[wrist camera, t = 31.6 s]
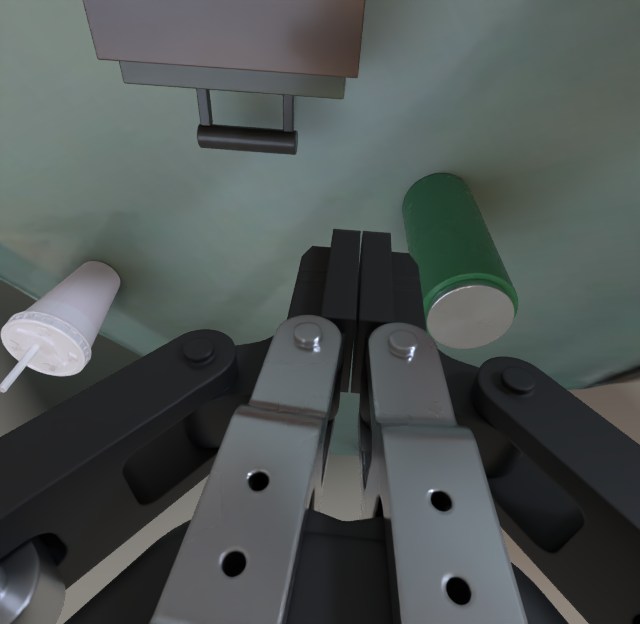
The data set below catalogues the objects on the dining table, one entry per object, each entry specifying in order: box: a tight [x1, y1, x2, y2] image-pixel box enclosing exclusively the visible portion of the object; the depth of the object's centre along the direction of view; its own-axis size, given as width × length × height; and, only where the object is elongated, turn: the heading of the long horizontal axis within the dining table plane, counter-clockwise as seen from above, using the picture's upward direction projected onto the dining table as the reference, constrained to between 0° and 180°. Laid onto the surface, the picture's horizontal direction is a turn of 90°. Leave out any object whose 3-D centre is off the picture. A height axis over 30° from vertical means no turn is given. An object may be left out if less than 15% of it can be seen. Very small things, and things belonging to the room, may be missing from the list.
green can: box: [402, 173, 518, 349], centre depth 28 cm, size 5×5×13 cm
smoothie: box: [0, 261, 120, 392], centre depth 35 cm, size 6×6×14 cm
